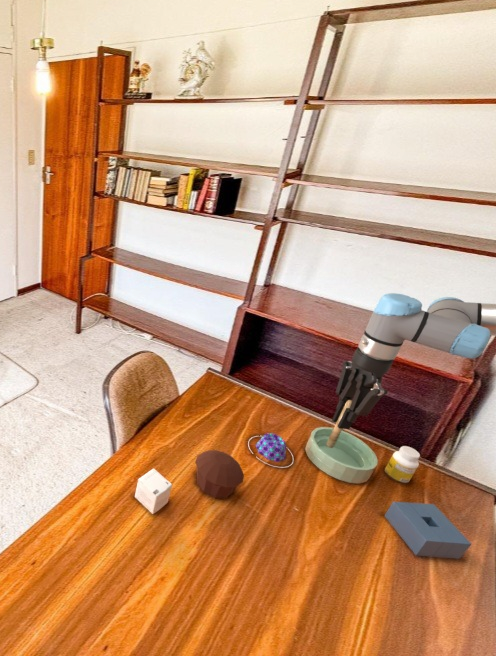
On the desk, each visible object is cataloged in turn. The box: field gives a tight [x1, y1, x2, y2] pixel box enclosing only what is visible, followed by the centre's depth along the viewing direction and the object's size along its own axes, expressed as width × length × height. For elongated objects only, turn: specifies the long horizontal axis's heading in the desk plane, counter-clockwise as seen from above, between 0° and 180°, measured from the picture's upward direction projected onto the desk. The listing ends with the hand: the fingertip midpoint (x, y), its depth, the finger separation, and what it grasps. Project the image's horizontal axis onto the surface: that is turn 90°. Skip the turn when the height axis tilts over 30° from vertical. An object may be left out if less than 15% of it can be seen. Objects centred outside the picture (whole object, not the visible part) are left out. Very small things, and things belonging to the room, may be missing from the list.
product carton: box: [134, 468, 173, 515], centre depth 99 cm, size 6×6×7 cm
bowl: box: [304, 426, 379, 484], centre depth 113 cm, size 16×16×6 cm
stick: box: [326, 399, 353, 448], centre depth 109 cm, size 2×2×17 cm
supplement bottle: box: [384, 445, 421, 484], centre depth 108 cm, size 5×5×10 cm
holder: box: [384, 501, 472, 560], centre depth 93 cm, size 10×10×6 cm
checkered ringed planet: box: [247, 432, 295, 469], centre depth 116 cm, size 12×12×5 cm
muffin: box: [195, 449, 245, 500], centre depth 103 cm, size 12×11×10 cm
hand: (340, 424), depth 109 cm, fingers closed on stick, 2 cm apart
